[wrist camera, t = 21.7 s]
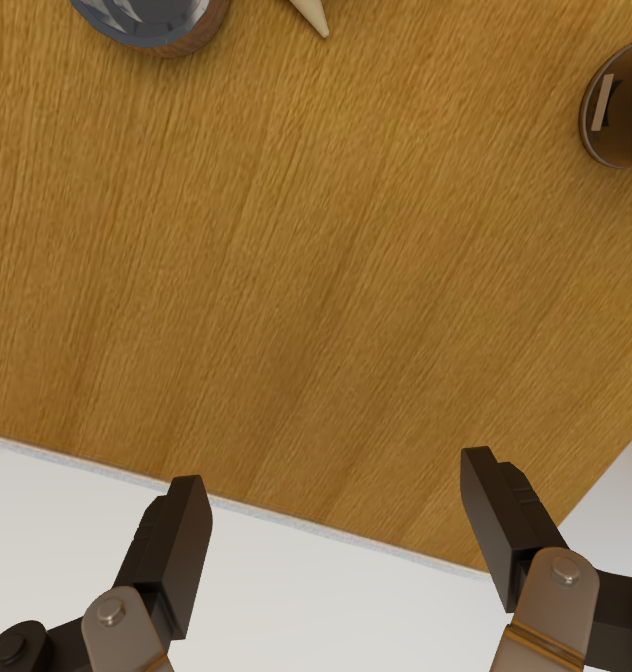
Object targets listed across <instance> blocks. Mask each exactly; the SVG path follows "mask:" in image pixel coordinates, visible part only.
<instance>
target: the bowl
mask: <svg viewBox="0 0 632 672" xmlns="http://www.w3.org/2000/svg"><path fill="white" fill-rule="evenodd" d="M70 2H71V4H72V5H73V7H74V8H75V9H76V10H77V11H78V12H79V13H80V14H81V15H82V16H83V17H84V18H85V19H86V20H87V21H88V23H89V24H90V25H91V26H92V27H93V28H95V29H96V30H98V31H99V32H101V33H103V34H104V35H106V36H108V37H109V38H111V39H113V40H114V41H116V42H118V43H120V44H123V45H125V46H127V47H130V48H132V49H135V50H137V51H139V52H142V53H144V54H148V55H153V56H157V57H162V58H173V57H180V56H186V55H189V54H191V53H192V52H194V51H196V50H197V49H199V48H201V47H203V46H204V45H206V44H207V43H208V41H209V40H210V39H211V38H212V36H213V35H214V34H215V33H216V32H217V30H218V29H219V28H220V26H221V24H222V22H223V19H224V16H225V14H226V11H227V9H228V6H229V2H230V0H70Z"/></svg>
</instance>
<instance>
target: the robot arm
mask: <svg viewBox="0 0 632 672" xmlns="http://www.w3.org/2000/svg"><path fill="white" fill-rule="evenodd" d="M579 124H580V133H581V138H582V141H583V143H584V145H585V148H586V149H587V151H588V152H589V153H590V155H591V156H592V157H593V158H594V159H596V160H597V161H598V162H600V163H602V164H604V165H606V166H609V167H613V168H620V169H632V43H631V44H629V45H627V46H626V47H624V48H622V49H621V50H619V51H618V52H617V53H615V54H614V55H613V56H612V57H611V58H609V59H608V60H607V61H606V62H605V63H604V64H603V66H602V67H601V68H600V69H599V70H598V72H597V73H596V75H595V76H594V78H593V79H592V81H591V82H590V84H589V86H588V88H587V91H586V93H585V95H584V98H583V101H582V105H581V110H580V120H579ZM460 490H461V497H462V502H463V505H464V508H465V511H466V513H467V516H468V518H469V521H470V524H471V526H472V529H473V531H474V534H475V536H476V539H477V541H478V544H479V546H480V549H481V551H482V554H483V556H484V559H485V561H486V564H487V566H488V569H489V571H490V574H491V576H492V579H493V582H494V584H495V586H496V589H497V592H498V594H499V597H500V599H501V602H502V604H503V607H504V609H505V612H506V613H514V616H513V619H512V621H511V623H510V625H509V624H507V626H506V627H505V630H504V632H503V635H502V637H501V640H500V643H499V646H498V649H497V651H496V654H495V657H494V660H493V663H492V666H491V669H490V671H489V672H583V669H584V665H587V666H591V667H594V668H598V669H602V670H606V671H610V672H632V577H627V576H622V575H617V574H612V573H608V572H604V571H601V570H598V569H596V568H594V567H593V566H592V564H591V563H590V562H589V561H588V560H587V559H585V558H584V557H583V556H581V555H580V554H578V553H576V552H574V551H572V550H570V548H569V547H568V546H567V544H566V542H565V541H564V539H563V537H562V536H561V534H560V532H559V531H558V529H557V527H556V526H555V524H554V522H553V521H552V519H551V517H550V516H549V514H548V513H547V511H546V509H545V508H544V506H543V504H542V503H541V502H540V499H539V498H538V496H537V494H536V493H535V491H533V488H532V486H531V484H530V483H529V481H528V479H527V478H526V476H525V475H524V473H523V472H521V471H520V470H519V469H518V468H516V467H515V466H514V465H513V464H511V463H510V462H502V463H497V461H496V459H495V457H494V455H493V453H492V452H491V450H490V448H489V447H488V446H482V447H472V448H463V449H462V450H461V474H460ZM212 524H213V519H212V511H211V507H210V504H209V500H208V497H207V494H206V491H205V487H204V484H203V481H202V478H201V476H200V475H190V476H180V477H175V478H174V479H173V480H172V482H171V485H170V488H169V490H168V493H167V495H164V496H157V498H156V499H155V500H154V501H153V502H152V503H151V504H150V505H149V507H148V508H147V509H146V510H145V512H144V515H143V517H142V519H141V522H140V524H139V528H137V531H136V533H135V535H134V540H133V541H132V542H131V545H130V547H129V549H128V552H127V554H126V556H125V559H124V561H123V563H122V566H121V568H120V570H119V573H118V575H117V577H116V580H115V582H114V584H113V586H112V588H111V589H110V590H108V591H106V592H104V593H103V594H102V595H100V596H99V597H98V598H97V599H95V601H94V602H93V603H92V604H91V605H90V606H89V608H88V609H87V611H86V612H85V614H84V616H82V617H80V618H78V619H75V620H73V621H70V622H68V623H65V624H63V625H60V626H58V627H55V628H53V629H50V630H47V631H46V629H45V627H44V626H43V624H41V623H40V622H38V621H33V620H30V621H24V622H21V623H18V624H16V625H14V626H12V627H10V628H9V629H7V630H6V631H4V632H3V633H1V634H0V672H174V670H173V668H172V665H171V663H170V661H169V659H168V656H167V653H168V650H169V646H170V642H171V640H183V639H185V638H186V634H187V630H188V626H189V622H190V618H191V614H192V610H193V606H194V601H195V597H196V593H197V589H198V585H199V581H200V577H201V573H202V569H203V565H204V561H205V556H206V552H207V548H208V545H209V540H210V536H211V532H212Z"/></svg>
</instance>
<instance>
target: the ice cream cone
mask: <svg viewBox="0 0 632 672" xmlns="http://www.w3.org/2000/svg"><path fill="white" fill-rule="evenodd" d="M290 2H291V3H292V4H293V5H294V6H295V7H296V8H297V9H298V10H299V11H300V12H301V14H302V15H303V16H304V17H305V18H306V19H307V20H308V21H309V22H310V23H311V24H312V25H313V27H314V28H315V29H316V30H317V31H318V32H319V33H320V34H321V35H322V36H323V37H324V38H325V37H327V36H328V35H329V30H328V26H327V22H326V18H325V14H324V10H323V6H322V2H321V0H290Z"/></svg>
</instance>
